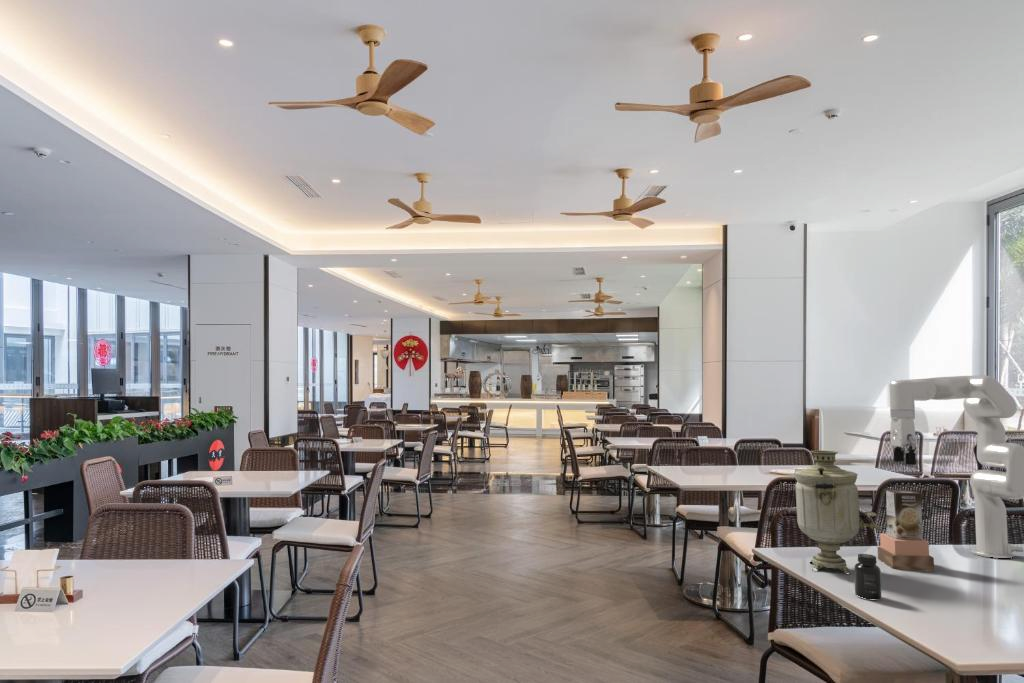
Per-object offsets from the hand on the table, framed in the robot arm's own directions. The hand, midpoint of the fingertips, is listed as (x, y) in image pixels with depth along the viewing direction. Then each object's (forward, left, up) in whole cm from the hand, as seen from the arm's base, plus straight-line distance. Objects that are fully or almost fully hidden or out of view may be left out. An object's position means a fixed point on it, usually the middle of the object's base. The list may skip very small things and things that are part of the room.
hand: (904, 462), depth 227 cm
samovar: (+27, +13, -36) cm, 47 cm away
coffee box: (+1, 0, -26) cm, 26 cm away
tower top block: (+1, 0, -31) cm, 31 cm away
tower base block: (+1, 0, -36) cm, 36 cm away
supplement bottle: (+27, +41, -36) cm, 61 cm away
